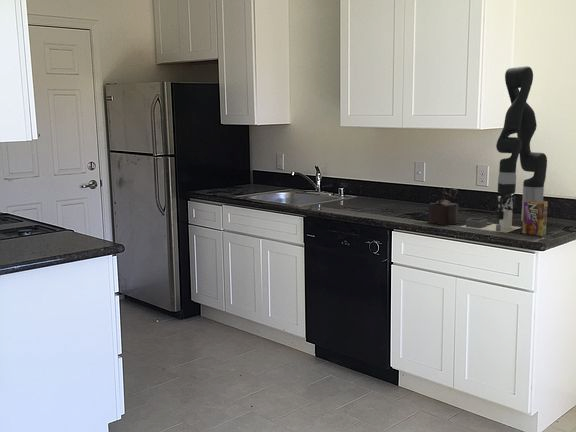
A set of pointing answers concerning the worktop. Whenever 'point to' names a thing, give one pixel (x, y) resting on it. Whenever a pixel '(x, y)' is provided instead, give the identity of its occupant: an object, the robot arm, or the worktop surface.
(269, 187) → the worktop surface
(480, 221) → the board
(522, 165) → the robot arm
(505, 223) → the plug
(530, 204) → the candy box
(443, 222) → the manual coffee grinder
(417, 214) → the worktop surface
